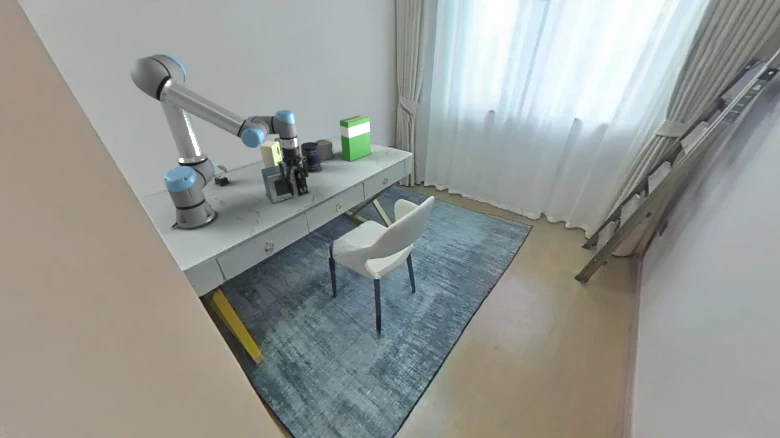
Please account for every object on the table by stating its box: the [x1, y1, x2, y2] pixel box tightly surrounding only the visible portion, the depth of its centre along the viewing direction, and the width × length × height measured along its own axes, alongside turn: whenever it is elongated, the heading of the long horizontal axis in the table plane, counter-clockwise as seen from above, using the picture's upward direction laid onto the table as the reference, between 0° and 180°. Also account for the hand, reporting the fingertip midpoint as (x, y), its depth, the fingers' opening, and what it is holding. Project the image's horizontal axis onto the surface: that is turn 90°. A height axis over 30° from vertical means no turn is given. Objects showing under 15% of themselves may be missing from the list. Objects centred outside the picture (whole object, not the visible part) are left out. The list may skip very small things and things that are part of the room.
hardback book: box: [339, 114, 372, 162], centre depth 199 cm, size 18×7×24 cm, turn 138°
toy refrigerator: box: [259, 140, 283, 169], centre depth 170 cm, size 8×7×21 cm
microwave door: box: [267, 170, 299, 204], centre depth 152 cm, size 8×13×14 cm, turn 126°
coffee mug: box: [315, 138, 334, 161], centre depth 203 cm, size 13×10×10 cm
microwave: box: [260, 163, 309, 201], centre depth 159 cm, size 11×18×14 cm, turn 125°
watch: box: [213, 163, 230, 187], centre depth 169 cm, size 6×8×11 cm
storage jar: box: [300, 141, 322, 174], centre depth 184 cm, size 10×10×15 cm
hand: (297, 192), depth 154 cm, fingers open, 5 cm apart
